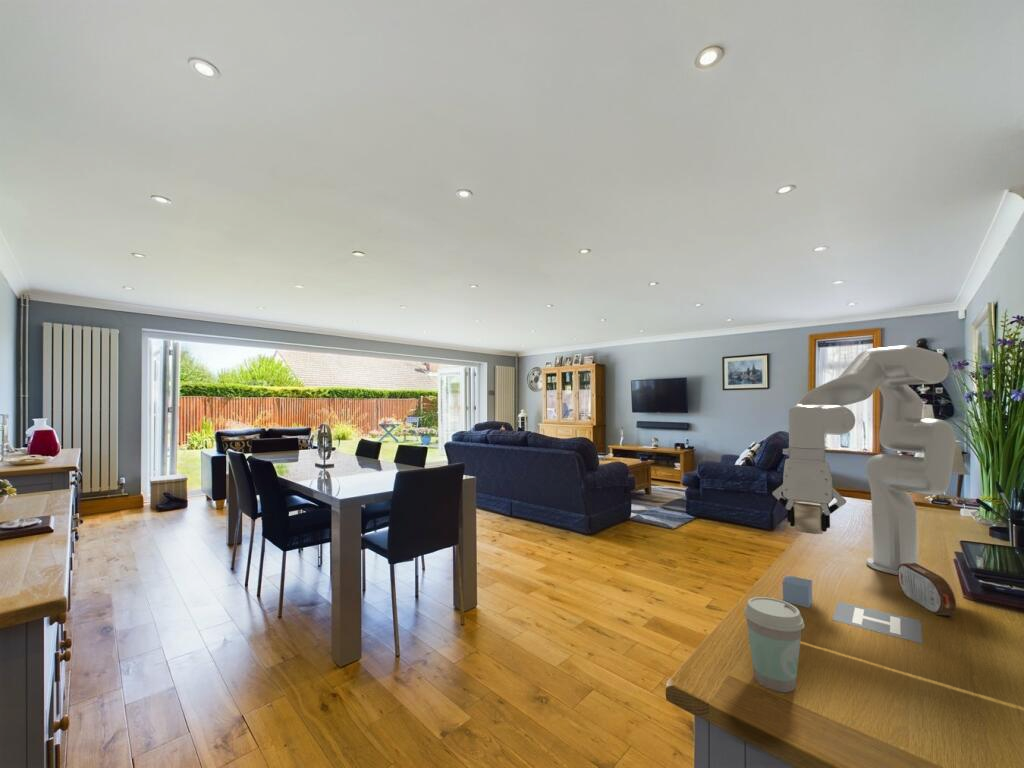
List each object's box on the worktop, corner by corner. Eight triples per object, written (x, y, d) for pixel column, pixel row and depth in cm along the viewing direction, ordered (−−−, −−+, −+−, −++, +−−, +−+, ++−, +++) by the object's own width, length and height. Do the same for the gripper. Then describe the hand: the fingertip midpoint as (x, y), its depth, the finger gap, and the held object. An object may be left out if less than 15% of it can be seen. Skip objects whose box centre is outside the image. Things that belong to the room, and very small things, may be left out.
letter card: (837, 602, 102) (837, 601, 102) (920, 622, 93) (920, 620, 93) (832, 621, 93) (832, 619, 93) (923, 645, 84) (923, 643, 84)
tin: (958, 623, 93) (957, 582, 94) (940, 621, 94) (939, 581, 94) (910, 593, 108) (909, 558, 108) (895, 592, 109) (894, 557, 109)
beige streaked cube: (792, 530, 110) (791, 504, 111) (796, 525, 115) (795, 500, 115) (821, 535, 107) (820, 508, 107) (824, 530, 111) (824, 504, 111)
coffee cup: (784, 704, 67) (783, 623, 68) (733, 674, 75) (732, 601, 75) (817, 688, 71) (815, 611, 72) (765, 661, 79) (764, 591, 79)
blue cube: (787, 596, 106) (786, 574, 106) (812, 602, 103) (811, 580, 103) (783, 603, 102) (782, 581, 102) (809, 610, 99) (808, 587, 99)
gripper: (764, 453, 114) (765, 524, 114) (848, 459, 103) (850, 538, 102) (770, 451, 120) (772, 519, 119) (851, 456, 109) (853, 531, 108)
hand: (808, 527), depth 111 cm, fingers closed on beige streaked cube, 6 cm apart
